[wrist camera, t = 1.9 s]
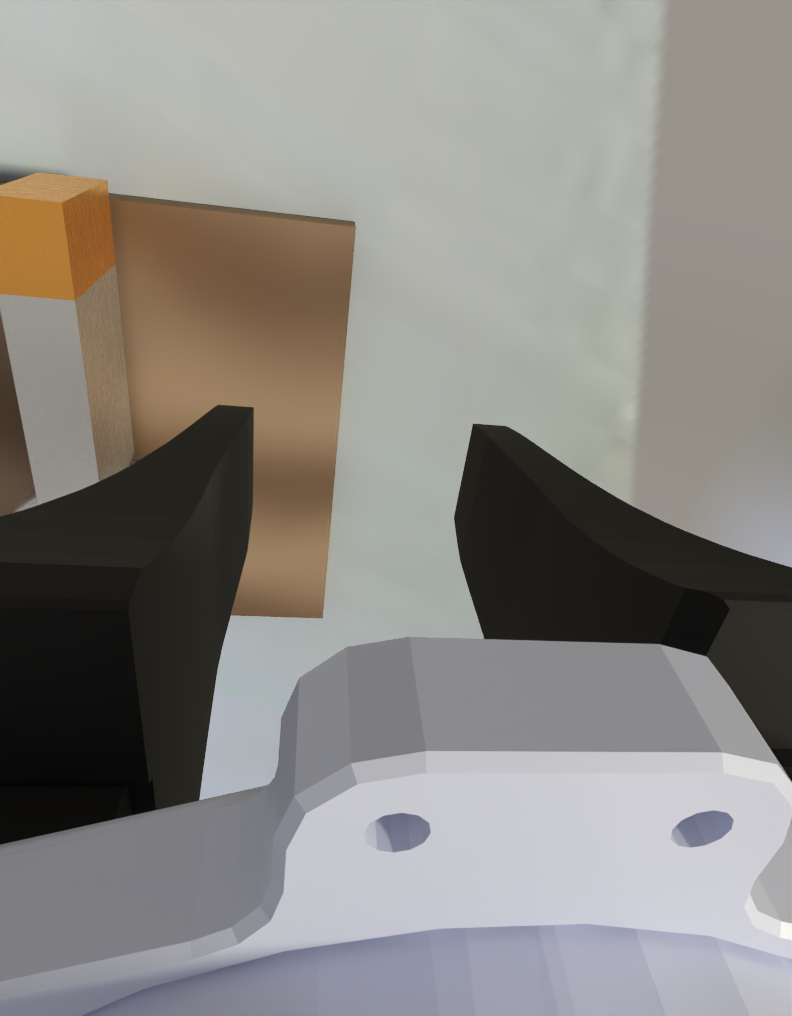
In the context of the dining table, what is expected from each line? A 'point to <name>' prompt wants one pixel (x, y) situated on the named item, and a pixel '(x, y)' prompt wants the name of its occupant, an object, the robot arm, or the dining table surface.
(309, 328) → the brown flat board
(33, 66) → the dining table surface
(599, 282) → the dining table surface
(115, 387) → the orange and grey bar
